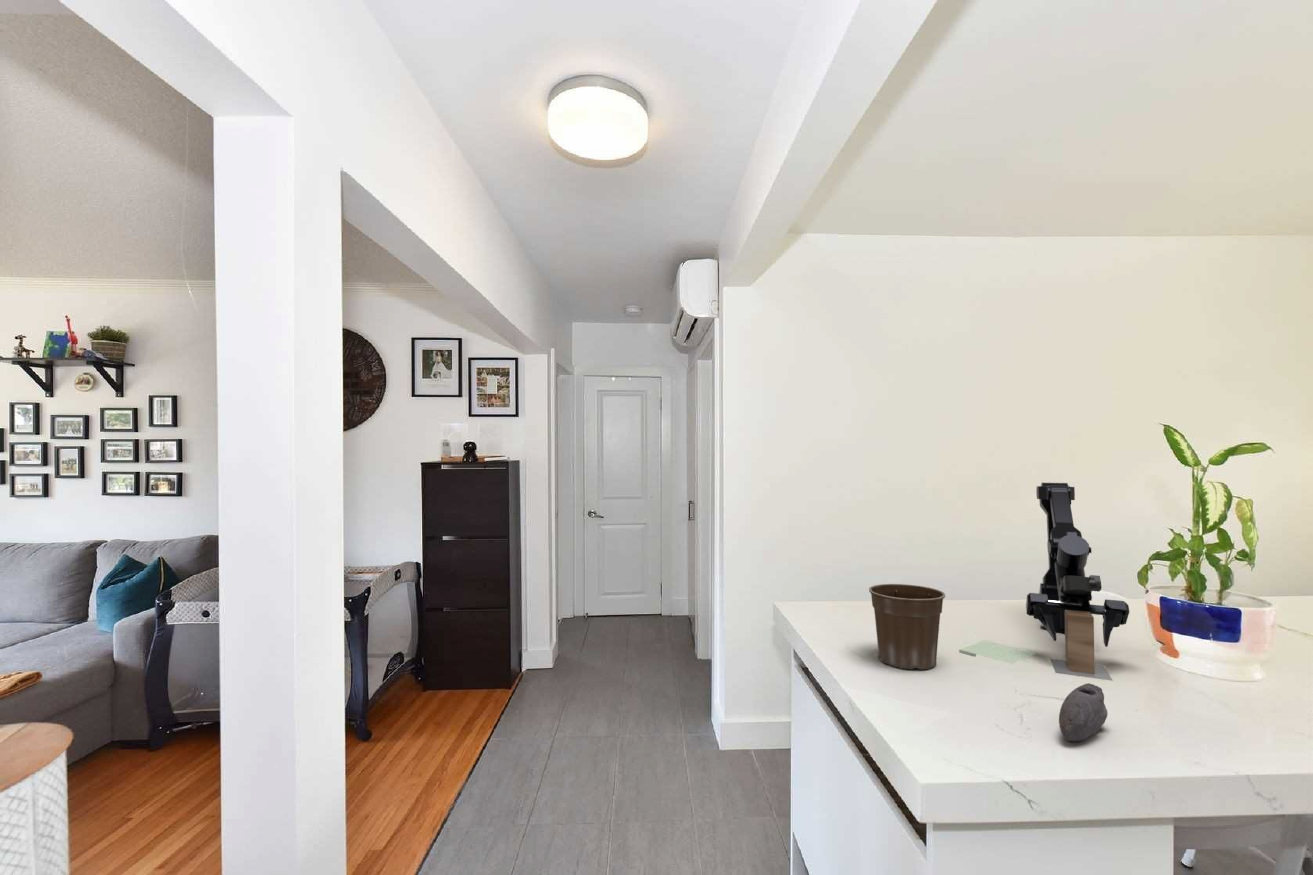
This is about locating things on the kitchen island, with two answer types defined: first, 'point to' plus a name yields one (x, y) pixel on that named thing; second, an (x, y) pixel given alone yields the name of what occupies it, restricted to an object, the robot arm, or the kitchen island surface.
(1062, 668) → the plate
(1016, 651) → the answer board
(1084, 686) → the perforated stone tool
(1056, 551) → the robot arm
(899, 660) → the plant pot
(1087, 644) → the walnut post
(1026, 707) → the kitchen island surface
